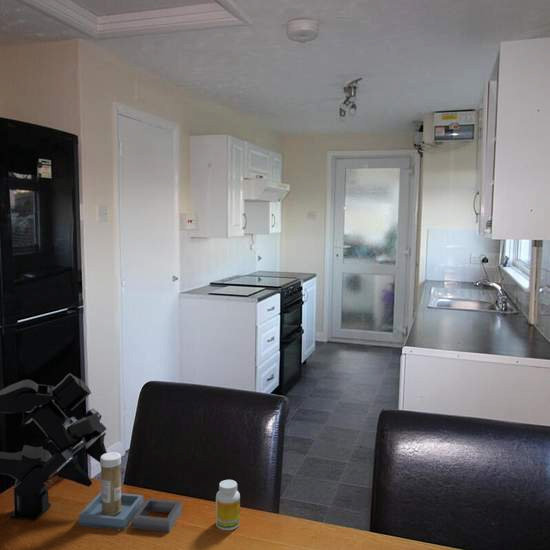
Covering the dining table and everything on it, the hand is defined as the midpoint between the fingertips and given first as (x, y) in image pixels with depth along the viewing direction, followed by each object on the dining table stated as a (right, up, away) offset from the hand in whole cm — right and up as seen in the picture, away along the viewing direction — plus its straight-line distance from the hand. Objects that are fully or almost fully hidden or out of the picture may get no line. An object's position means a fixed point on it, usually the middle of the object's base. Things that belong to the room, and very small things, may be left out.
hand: (100, 475), depth 122 cm
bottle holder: (+13, -10, -1) cm, 16 cm away
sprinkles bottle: (+2, -9, +1) cm, 9 cm away
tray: (+2, -9, +1) cm, 10 cm away
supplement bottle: (+29, -10, -2) cm, 31 cm away
